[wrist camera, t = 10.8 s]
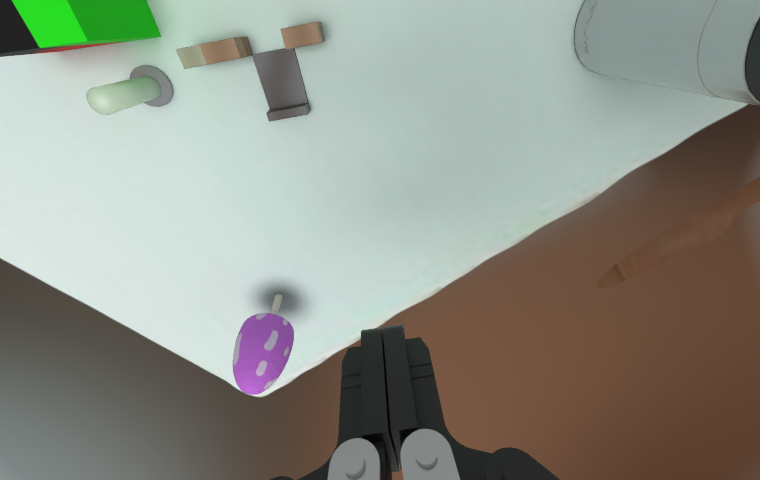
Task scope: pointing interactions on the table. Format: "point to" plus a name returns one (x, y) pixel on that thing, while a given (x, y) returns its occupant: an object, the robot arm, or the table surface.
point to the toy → (262, 350)
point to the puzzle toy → (71, 24)
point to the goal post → (132, 91)
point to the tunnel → (266, 66)
